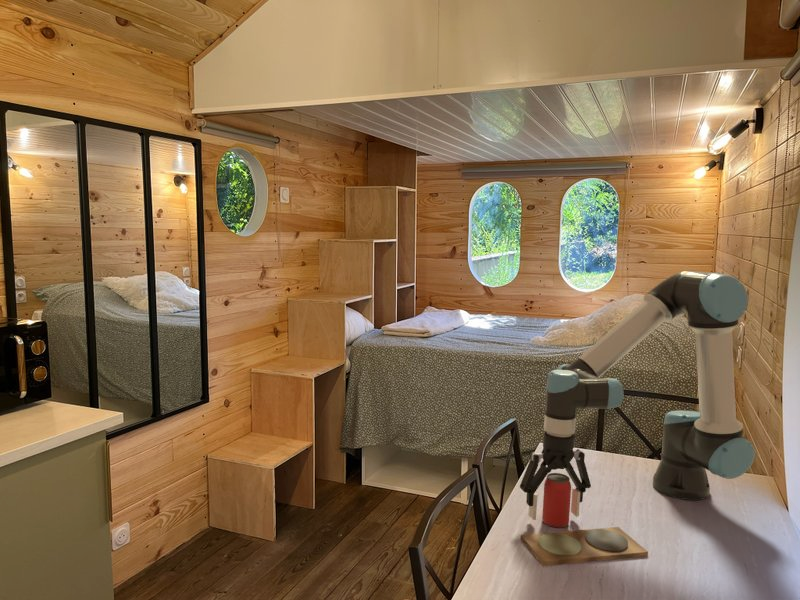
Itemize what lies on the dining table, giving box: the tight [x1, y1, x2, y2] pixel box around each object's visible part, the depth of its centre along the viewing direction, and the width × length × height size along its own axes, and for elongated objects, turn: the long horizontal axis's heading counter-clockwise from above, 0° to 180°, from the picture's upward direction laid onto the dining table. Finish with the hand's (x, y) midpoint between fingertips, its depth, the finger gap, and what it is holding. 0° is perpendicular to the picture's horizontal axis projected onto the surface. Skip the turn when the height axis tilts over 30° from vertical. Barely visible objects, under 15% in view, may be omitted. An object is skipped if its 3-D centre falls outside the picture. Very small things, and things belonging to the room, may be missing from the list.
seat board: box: [520, 526, 649, 567], centre depth 143 cm, size 26×12×2 cm, turn 103°
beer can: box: [541, 472, 572, 528], centre depth 155 cm, size 7×7×12 cm
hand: (553, 515), depth 156 cm, fingers open, 11 cm apart
